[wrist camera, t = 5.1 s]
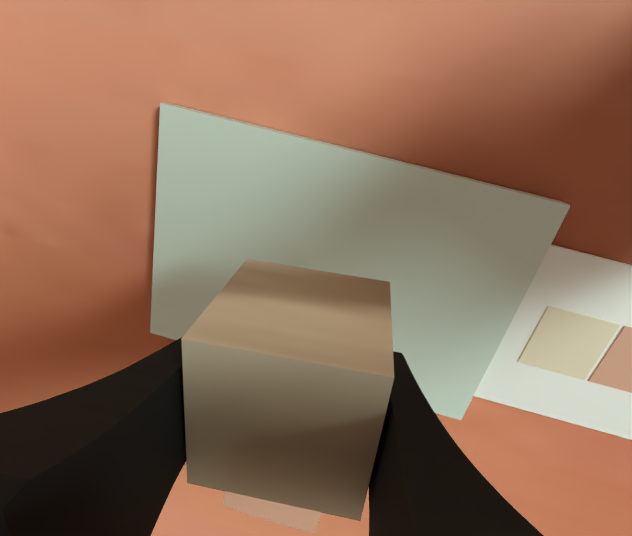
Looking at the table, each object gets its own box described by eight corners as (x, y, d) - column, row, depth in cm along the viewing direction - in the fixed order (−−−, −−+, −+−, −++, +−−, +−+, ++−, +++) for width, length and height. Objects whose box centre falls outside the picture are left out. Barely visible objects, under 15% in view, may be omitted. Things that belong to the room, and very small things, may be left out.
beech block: (246, 258, 12) (181, 338, 8) (389, 281, 12) (394, 378, 8) (242, 372, 14) (187, 482, 10) (366, 395, 14) (359, 521, 10)
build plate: (167, 102, 16) (160, 102, 15) (564, 201, 15) (570, 205, 15) (156, 326, 21) (149, 333, 20) (458, 411, 20) (460, 420, 19)
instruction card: (515, 235, 16) (517, 237, 16) (795, 306, 15) (802, 310, 15) (445, 385, 19) (446, 389, 19) (673, 448, 19) (676, 453, 18)
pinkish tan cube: (263, 372, 21) (234, 439, 17) (346, 395, 21) (337, 469, 17) (251, 432, 23) (222, 506, 19) (326, 454, 22) (314, 534, 18)
